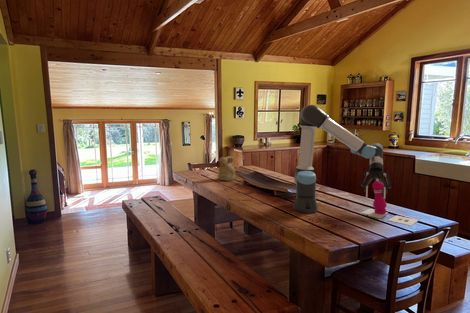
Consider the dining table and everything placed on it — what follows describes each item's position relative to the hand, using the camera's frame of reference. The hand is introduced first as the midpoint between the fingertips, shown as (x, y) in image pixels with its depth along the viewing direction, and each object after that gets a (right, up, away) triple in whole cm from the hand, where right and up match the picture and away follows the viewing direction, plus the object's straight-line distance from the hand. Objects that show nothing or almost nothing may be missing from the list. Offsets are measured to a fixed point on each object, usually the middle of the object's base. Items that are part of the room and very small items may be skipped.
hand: (375, 197), depth 185 cm
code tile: (+12, -12, -7) cm, 19 cm away
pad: (+1, -11, +4) cm, 12 cm away
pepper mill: (+4, -10, +3) cm, 11 cm away
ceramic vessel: (-88, +2, +108) cm, 139 cm away
